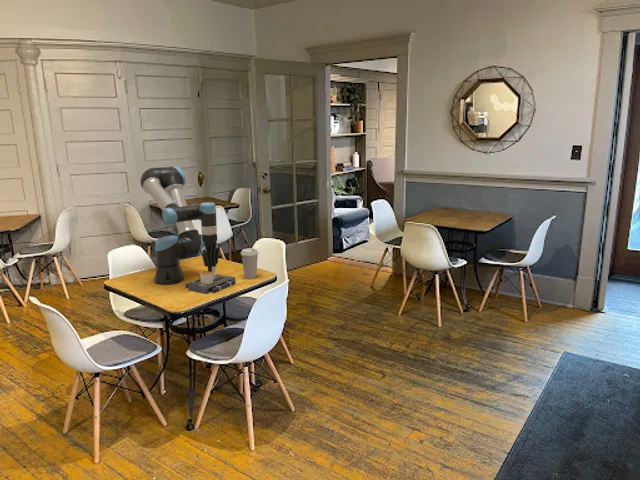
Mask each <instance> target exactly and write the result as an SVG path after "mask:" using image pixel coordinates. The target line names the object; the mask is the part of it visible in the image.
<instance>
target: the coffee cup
mask: <svg viewBox="0 0 640 480" xmlns="http://www.w3.org/2000/svg"><path fill="white" fill-rule="evenodd" d="M240 255H241V261H242V266H243V267H242V269H243V274H244V278H245V279H254V278H257V277H256V276H258V275H257V272H258V258H259V257H258V256H259V251H258V249H257V248H253V247H252V248H251V247H249V248H243V249H241V251H240Z"/></svg>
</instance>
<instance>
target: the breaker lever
mask: <svg viewBox="0 0 640 480" xmlns="http://www.w3.org/2000/svg"><path fill="white" fill-rule="evenodd" d="M199 277H200V278H199V279H201V283H203V284H208V285H209V284H211V283H213V272H210V271H208V270H204V271H200V272H199Z"/></svg>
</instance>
